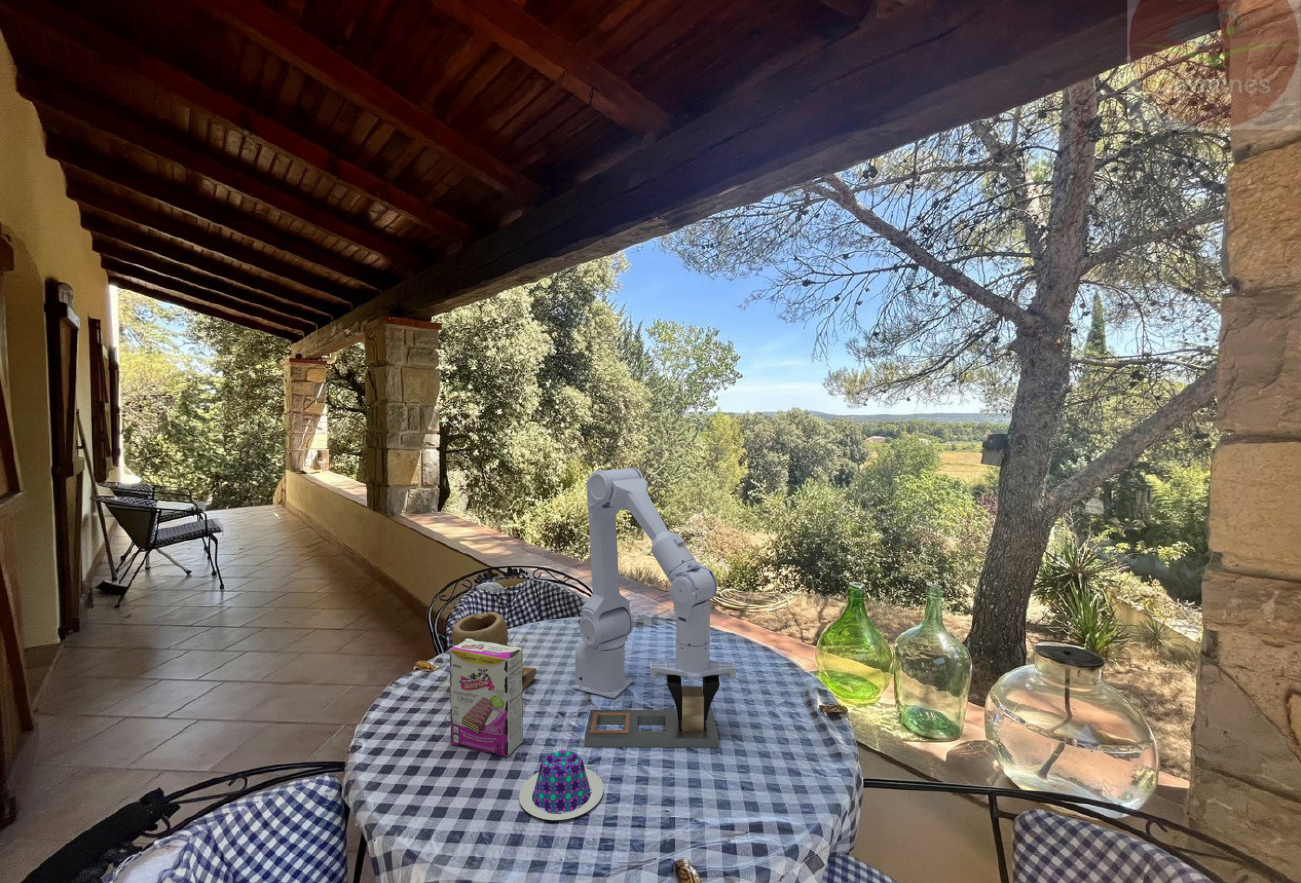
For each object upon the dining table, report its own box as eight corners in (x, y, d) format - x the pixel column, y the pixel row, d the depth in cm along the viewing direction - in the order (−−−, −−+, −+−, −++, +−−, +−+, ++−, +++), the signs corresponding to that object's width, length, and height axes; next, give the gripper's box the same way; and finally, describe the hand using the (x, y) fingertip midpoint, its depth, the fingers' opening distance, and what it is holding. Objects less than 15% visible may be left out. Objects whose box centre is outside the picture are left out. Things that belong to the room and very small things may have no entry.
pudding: (602, 767, 90) (602, 734, 89) (604, 822, 78) (604, 784, 78) (524, 772, 88) (523, 739, 88) (514, 828, 77) (513, 790, 76)
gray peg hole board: (584, 746, 95) (584, 736, 95) (590, 717, 104) (590, 708, 104) (718, 747, 95) (718, 737, 95) (712, 718, 104) (712, 709, 104)
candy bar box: (448, 746, 95) (447, 648, 94) (467, 730, 99) (466, 637, 99) (507, 759, 91) (506, 658, 90) (524, 742, 96) (523, 646, 95)
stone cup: (439, 701, 109) (438, 623, 109) (469, 673, 121) (468, 603, 120) (515, 708, 107) (514, 629, 106) (538, 679, 119) (537, 607, 118)
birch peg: (682, 737, 97) (682, 696, 97) (681, 725, 101) (681, 686, 101) (703, 737, 97) (703, 696, 97) (701, 725, 101) (701, 686, 101)
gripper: (650, 649, 94) (649, 730, 95) (738, 649, 94) (737, 730, 95) (650, 632, 101) (649, 708, 102) (732, 633, 101) (731, 708, 102)
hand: (692, 717), depth 99 cm, fingers closed on birch peg, 4 cm apart
